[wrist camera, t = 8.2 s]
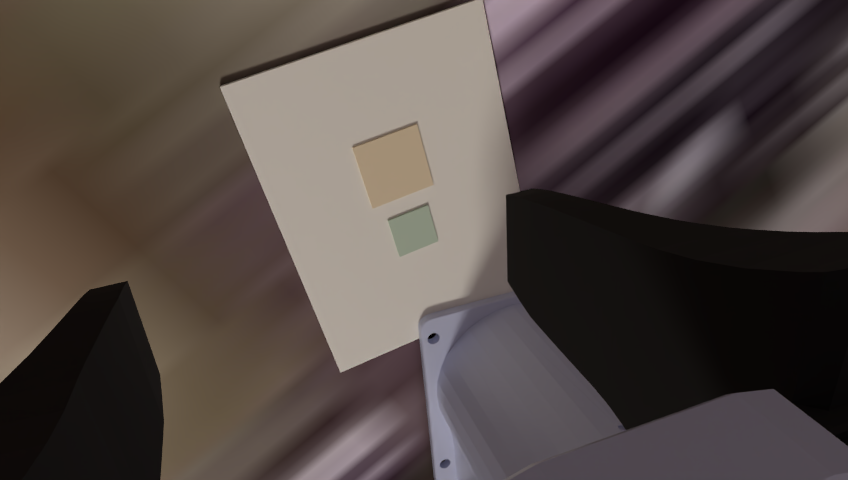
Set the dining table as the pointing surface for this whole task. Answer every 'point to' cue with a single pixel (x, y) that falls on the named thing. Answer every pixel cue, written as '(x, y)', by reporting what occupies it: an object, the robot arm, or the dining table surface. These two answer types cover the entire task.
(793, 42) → the dining table surface
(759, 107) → the dining table surface
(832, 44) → the dining table surface
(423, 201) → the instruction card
